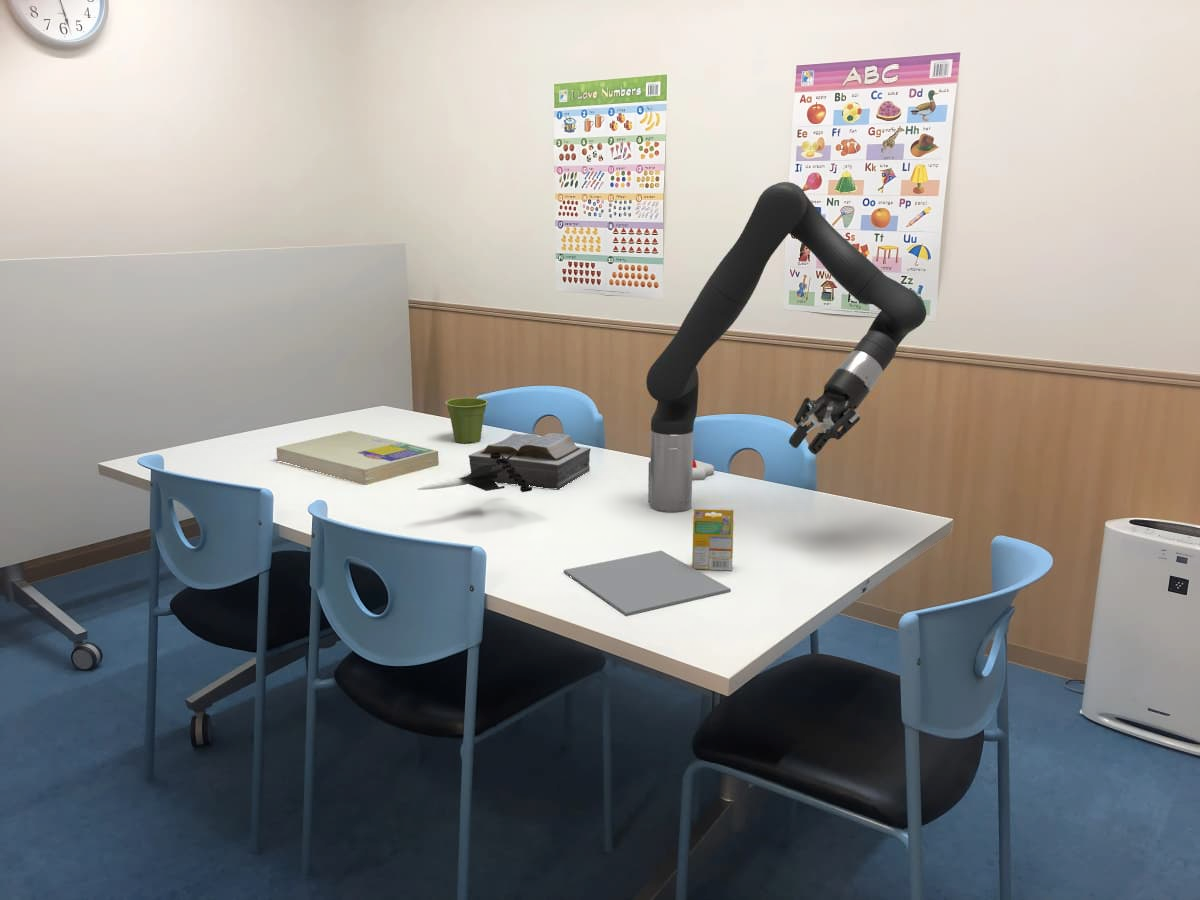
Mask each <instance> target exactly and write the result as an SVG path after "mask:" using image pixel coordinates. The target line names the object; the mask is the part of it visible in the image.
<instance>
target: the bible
mask: <svg viewBox="0 0 1200 900" xmlns="http://www.w3.org/2000/svg"><path fill="white" fill-rule="evenodd" d="M493 452H500V453H501V458H498V459H502V456H504V457H505V458H506V459H507V460H508V463H507V464H503V463H500V465H497V466H492V470H491V472H492V471H495V470H500V469H502V466H504V465H505V466H506V465H509V464H511V469H512V467H514V468H515V472H516V471H517V473H520V475H522V479H524V480H526V481H527V484H528V483H529V485H530V486H536V487H543V488H542V489H544V488H557V490H561V489H560V488H562V487H563V488H565V487H566V486H568V485H569V484H568V483H570V482H571V483H573V482H574V481H576V480H578V479H579V478H581V477H582V475H583V474H584V475H586V474H587V473H589V472H590V469H591V467H590V458H591V457H590V455H591V448H590V447H584V446H578V445H576V444H575V441H574V440H573V438H572V436H571V435H569V434H561V433H553V432H551V433H546V434H544V435H541V436H539V435H538V434H534V433H532V434H531V433H529V434H526V433H525V434H524V433H512V434H510V435H509V436H508V437H506V438H505V439H503V440H501V441H498V442H495V443H491V444H488V445H486V447H485V448H483V449H480V450H478V451H475V452H473V453H471V454H469V455H468V458H469V467H470V473H472V472H473V471H474V470H476V469H477V468H478V467H481V466H485V465H490V464H495V463H496V459H492V458H491V457H490V455H491V453H493ZM503 459H504V458H503ZM585 473H586V474H585ZM497 474H498V477H497V478H496V479H493V480H494V481H495V482H497V483H496V484H503V483H507V484H506V485H511V484H518V482H517V481H515V480H514V478H510V479H509V475H510V474H509V473H507V470H504V471H501V472H499V473H497ZM584 475H583V476H584ZM580 476H581V477H580ZM578 477H579V478H578ZM517 478H519V477H517ZM577 478H578V479H577ZM575 479H576V480H575ZM573 480H574V481H573ZM572 481H573V482H572ZM571 483H570V484H571ZM527 484H526V485H527ZM567 484H568V485H567ZM565 485H566V486H565ZM564 486H565V487H564ZM536 487H535V488H536ZM563 488H562V489H563Z"/></svg>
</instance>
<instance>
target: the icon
mask: <svg viewBox="0 0 1200 900" xmlns="http://www.w3.org/2000/svg"><path fill="white" fill-rule="evenodd" d="M713 474H715V467H714V465H712V464H711V463H707V462H703V461H699V460H695V459H694V458H693V469H692V481H701V480H702V481H704V480H705V478H706V477H709V476H712V475H713Z"/></svg>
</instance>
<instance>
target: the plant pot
mask: <svg viewBox="0 0 1200 900" xmlns="http://www.w3.org/2000/svg"><path fill="white" fill-rule="evenodd" d="M488 403H489V401H488V400H487V399H485V398H477V397H457V398H452V399H451V398H450V399H448V400H446V401H445V403H444V404H445V405H446V406H447V410H448V413H449V418H450V422H451V427H452V433H453V439H454V441H455V442H456V443H458V444H469V443H473V444H475V443H479V442H480V441H481V439H482V431H483V424H484V419H485V418H484V417H485V412H486V407H487V404H488Z"/></svg>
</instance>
